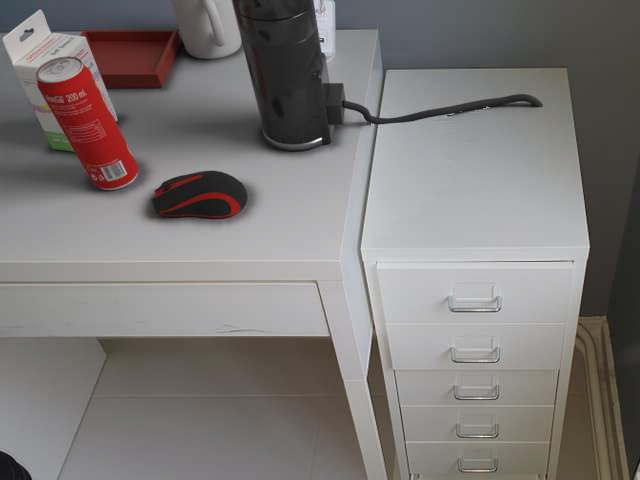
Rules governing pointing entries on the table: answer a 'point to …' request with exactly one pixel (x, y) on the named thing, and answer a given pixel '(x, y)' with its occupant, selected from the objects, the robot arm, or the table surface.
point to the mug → (208, 27)
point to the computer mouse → (200, 196)
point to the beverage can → (87, 122)
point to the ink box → (38, 52)
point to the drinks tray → (133, 56)
